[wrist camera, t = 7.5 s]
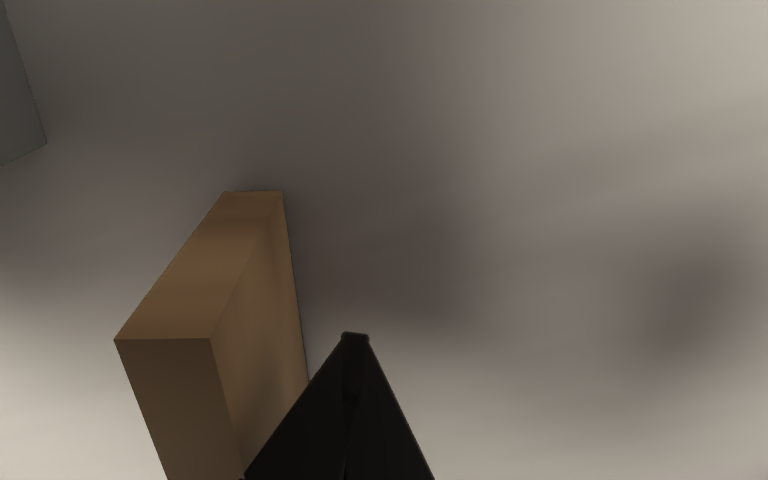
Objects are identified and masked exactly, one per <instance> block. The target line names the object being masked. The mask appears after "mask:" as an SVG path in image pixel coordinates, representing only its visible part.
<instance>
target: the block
mask: <svg viewBox="0 0 768 480" xmlns="http://www.w3.org/2000/svg"><path fill="white" fill-rule="evenodd" d="M45 144H47V141H46V138H45V135H44V132H43V129H42V125H41V122H40V119H39V116H38V113H37V109H36V106H35V103H34V100H33V96H32V93H31V90H30V87H29V84H28V80H27V77H26V74H25V71H24V68H23V64H22V61H21V58H20V55H19V52H18V48H17V45H16V42H15V39H14V35H13V32H12V29H11V26H10V23H9V19H8V16H7V13H6V10H5V7H4V3H3V0H0V166H2V165H4V164H6V163H8V162H10V161H12V160H15V159H17V158H19V157H21V156H23V155H25V154H27V153H29V152H31V151H33V150H35V149H37V148H39V147H41V146H43V145H45Z"/></svg>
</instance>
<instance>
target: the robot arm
mask: <svg viewBox="0 0 768 480" xmlns="http://www.w3.org/2000/svg"><path fill="white" fill-rule="evenodd" d="M369 341H370V339H369V335H367V334H364V333H356V332H348V331H344V332H343V333H342V334H341V340H340V341H339V343H338V344H337V345H336V347H335V348H334V349H333V351H332V352H331V354H330V355H329V356H328V358H327V359H326V360H325V362H324V363H323V365H322V366H321V367H320V369H319V370H318V371H317V373H316V374H315V376H314V377H313V378H312V380H311V381H310V382H309V384H308V385H307V387H306V388H305V389H304V391H303V392H302V393H301V395H300V396H299V397H298V399H297V400H296V402H295V403H294V404H293V406H292V407H291V408H290V410H289V411H288V413H287V414H286V415H285V417H284V418H283V419H282V421H281V422H280V424H279V425H278V426H277V428H276V429H275V430H274V432H273V433H272V435H271V436H270V437H269V439H268V440H267V441H266V443H265V444H264V445H263V447H262V448H261V450H260V451H259V452H258V454H257V455H256V456H255V458H254V459H253V461H252V462H251V463H250V465H249V466H248V467H247V469H246V470H245V472H244V473H243V475H242V478H240V479H238V480H435V478H434V476H433V474H432V472H431V470H430V468H429V466H428V464H427V462H426V460H425V458H424V455H423V453H422V451H421V449H420V447H419V445H418V443H417V441H416V439H415V437H414V435H413V433H412V430H411V428H410V426H409V424H408V422H407V420H406V418H405V416H404V414H403V412H402V410H401V408H400V406H399V403H398V401H397V399H396V397H395V395H394V393H393V391H392V389H391V387H390V385H389V383H388V381H387V378H386V376H385V374H384V372H383V370H382V368H381V366H380V364H379V362H378V360H377V358H376V356H375V353H374V351H373V349H372V347H371V345H370V343H369Z"/></svg>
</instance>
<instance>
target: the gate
mask: <svg viewBox="0 0 768 480" xmlns="http://www.w3.org/2000/svg"><path fill="white" fill-rule="evenodd" d="M113 340H114V342H115V345H116V348H117V350H118V353H119V355H120V358H121V361H122V363H123V366H124V368H125V371H126V373H127V376H128V379H129V381H130V384H131V386H132V389H133V391H134V394H135V397H136V399H137V402H138V404H139V407H140V410H141V412H142V415H143V417H144V420H145V422H146V425H147V428H148V430H149V433H150V435H151V438H152V440H153V443H154V446H155V448H156V451H157V453H158V456H159V459H160V461H161V464H162V466H163V469H164V471H165V474H166V477H167V479H168V480H238V479H240V478H242V475H243V473H244V472H245V470H246V469H247V467H248V466H249V465H250V463H251V462H252V461H253V459H254V458H255V456H256V455H257V454H258V452H259V451H260V450H261V448H262V447H263V445H264V444H265V443H266V441H267V440H268V439H269V437H270V436H271V435H272V433H273V432H274V430H275V429H276V428H277V426H278V425H279V424H280V422H281V421H282V419H283V418H284V417H285V415H286V414H287V413H288V411H289V410H290V408H291V407H292V406H293V404H294V403H295V402H296V400H297V399H298V397H299V396H300V395H301V393H302V392H303V391H304V389H305V388H306V387H307V385H308V377H307V370H306V362H305V355H304V348H303V341H302V334H301V326H300V319H299V312H298V305H297V297H296V290H295V283H294V276H293V268H292V261H291V254H290V247H289V240H288V232H287V225H286V218H285V211H284V203H283V196H282V191H240V192H224V193H223V194H222V195H221V197H220V198H219V199H218V201H217V202H216V203H215V205H214V206H213V207H212V209H211V210H210V211H209V213H208V214H207V215H206V217H205V218H204V219H203V221H202V222H201V223H200V225H199V226H198V227H197V229H196V230H195V231H194V233H193V234H192V235H191V237H190V238H189V239H188V241H187V242H186V243H185V245H184V246H183V247H182V249H181V250H180V251H179V253H178V254H177V255H176V257H175V258H174V259H173V261H172V262H171V263H170V265H169V266H168V267H167V269H166V270H165V271H164V273H163V274H162V275H161V277H160V278H159V279H158V281H157V282H156V283H155V285H154V286H153V287H152V289H151V290H150V291H149V293H148V294H147V295H146V297H145V298H144V299H143V301H142V302H141V303H140V305H139V306H138V307H137V308H136V310H135V311H134V312H133V314H132V315H131V316H130V318H129V319H128V320H127V322H126V323H125V324H124V326H123V327H122V328H121V330H120V331H119V332H118V334H117V335H116V336H115V338H114V339H113Z"/></svg>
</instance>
